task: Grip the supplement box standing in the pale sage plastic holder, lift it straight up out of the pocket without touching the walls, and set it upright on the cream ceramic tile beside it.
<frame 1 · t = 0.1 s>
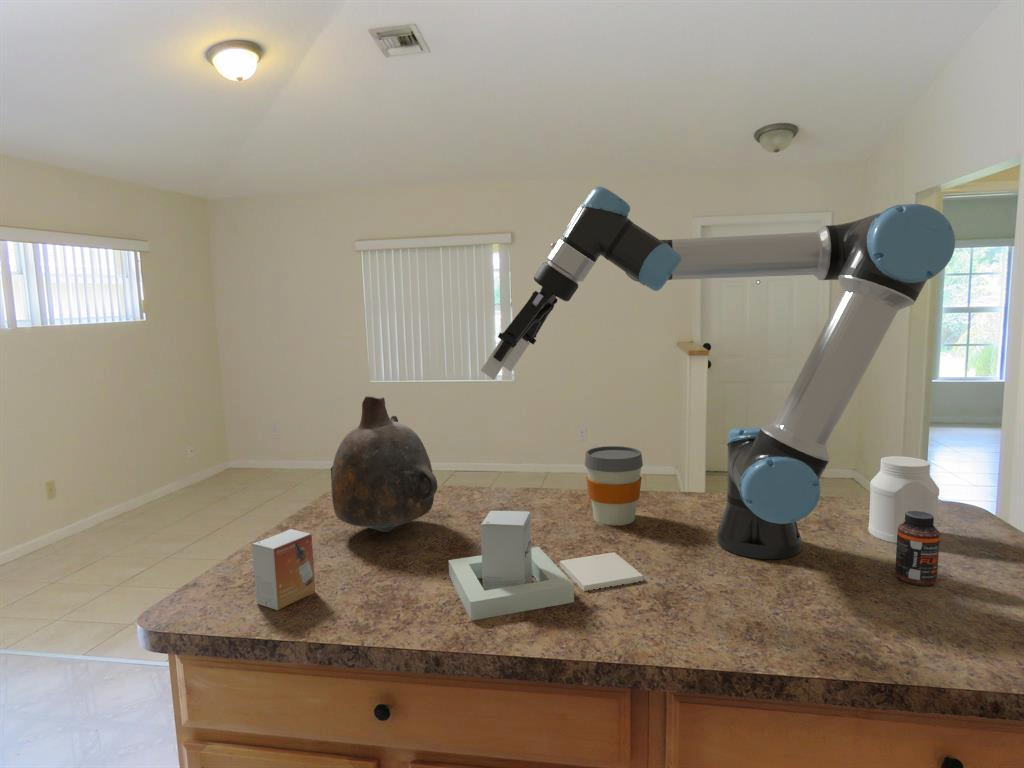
hand: (496, 371, 115), 36 cm above the counter, tool tilted 35°, fingers open, 13 cm apart
tile: (600, 573, 112), on the counter
jar: (901, 535, 125), on the counter
holder: (508, 588, 107), on the counter
reusable coffee cup: (614, 519, 140), on the counter
supplement bottle: (915, 580, 106), on the counter
jug: (385, 532, 137), on the counter
supplement box: (508, 589, 107), on the counter
small box: (286, 599, 107), on the counter
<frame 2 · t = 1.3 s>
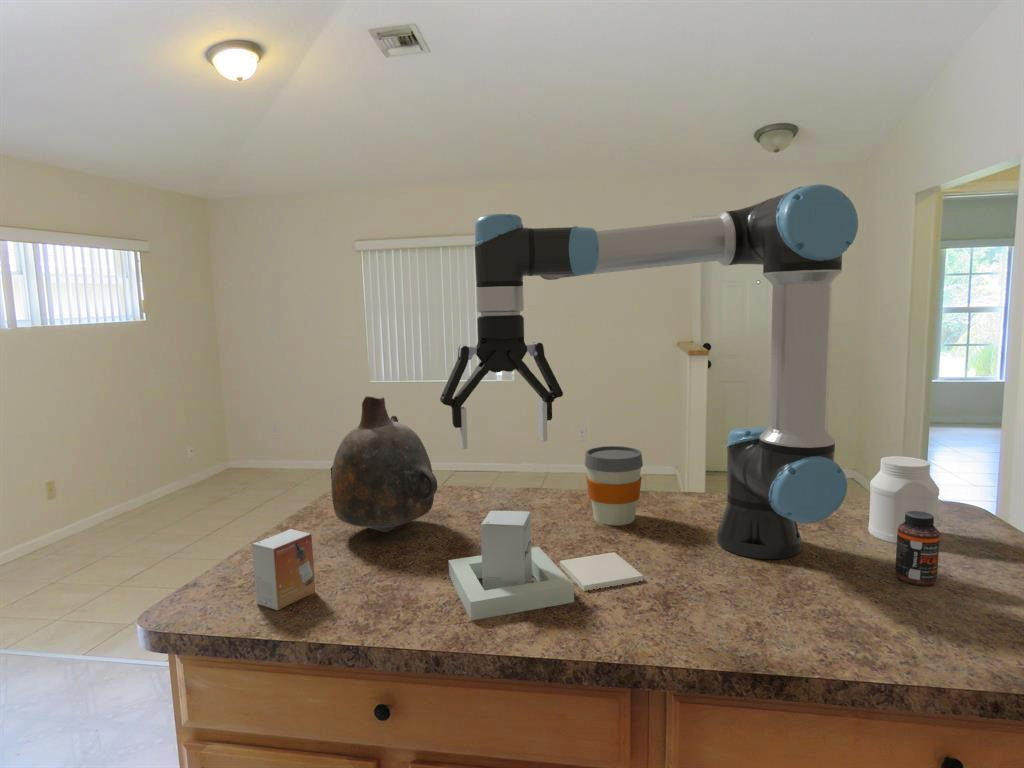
hand: (503, 443, 104), 25 cm above the counter, tool pointing down, fingers open, 13 cm apart
nothing on the counter moved.
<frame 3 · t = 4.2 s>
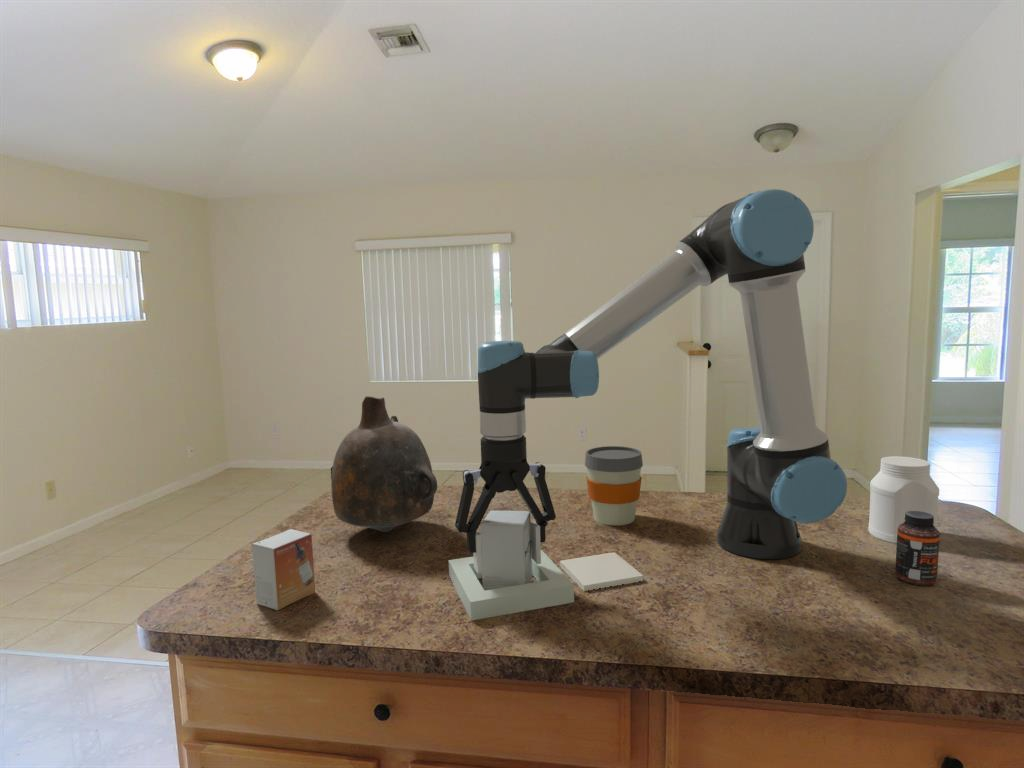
hand: (507, 565, 107), 4 cm above the counter, tool pointing down, fingers closed on supplement box, 10 cm apart
supplement box: (508, 589, 107), on the counter, touching gripper
everything else where it was.
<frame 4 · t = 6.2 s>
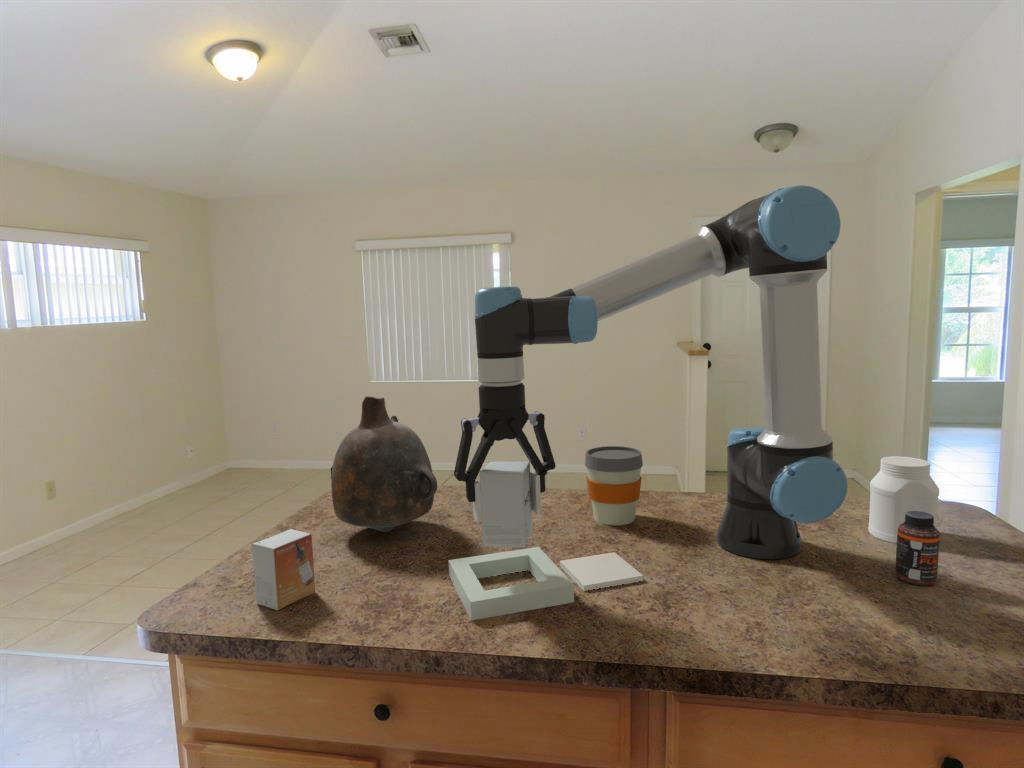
hand: (507, 515, 106), 13 cm above the counter, tool pointing down, fingers closed on supplement box, 10 cm apart
supplement box: (508, 540, 106), point 8 cm above the counter, touching gripper
everything else where it was.
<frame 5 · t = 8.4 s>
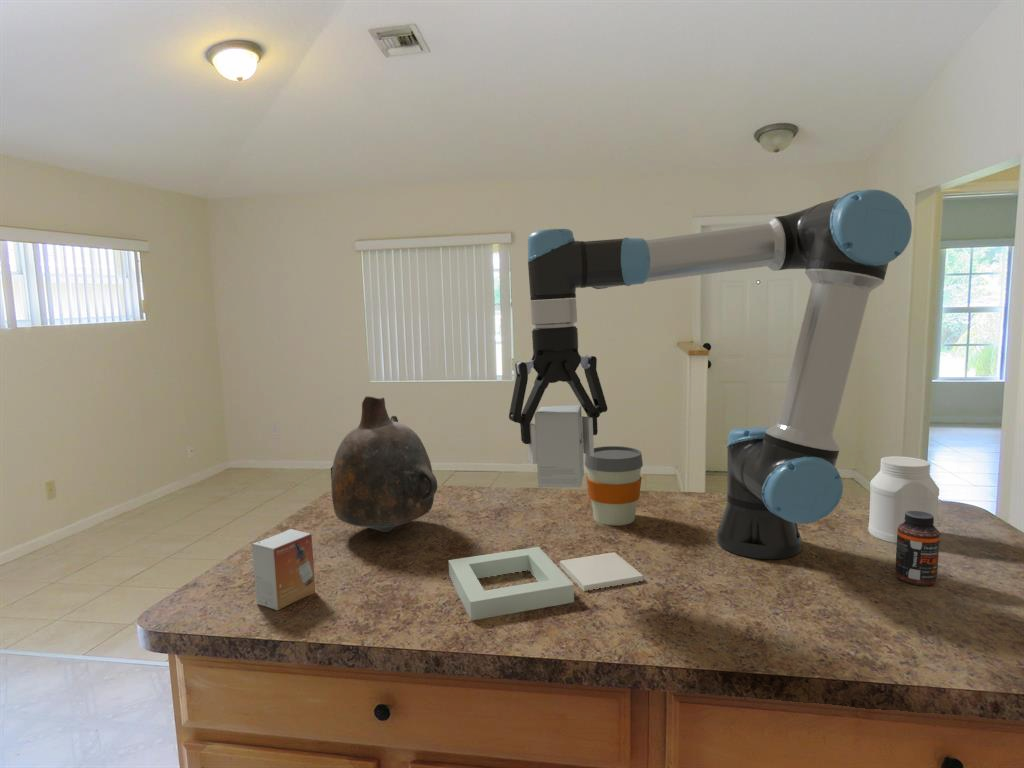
hand: (561, 458, 107), 22 cm above the counter, tool pointing down, fingers closed on supplement box, 10 cm apart
supplement box: (562, 482, 108), point 17 cm above the counter, touching gripper
everything else where it was.
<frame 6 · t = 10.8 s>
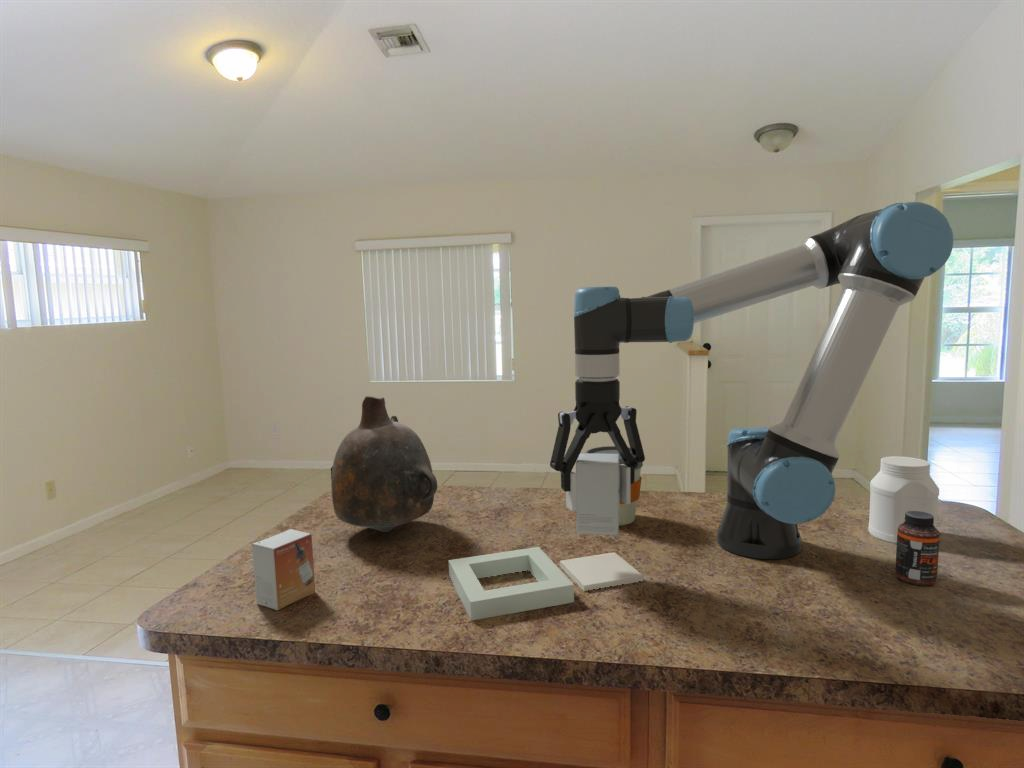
hand: (598, 505, 111), 12 cm above the counter, tool pointing down, fingers closed on supplement box, 10 cm apart
supplement box: (598, 528, 111), point 8 cm above the counter, touching gripper
everything else where it was.
when the fingers open (7 cm above the counter, at t = 12.9 s): supplement box drops 1 cm, resting on tile.
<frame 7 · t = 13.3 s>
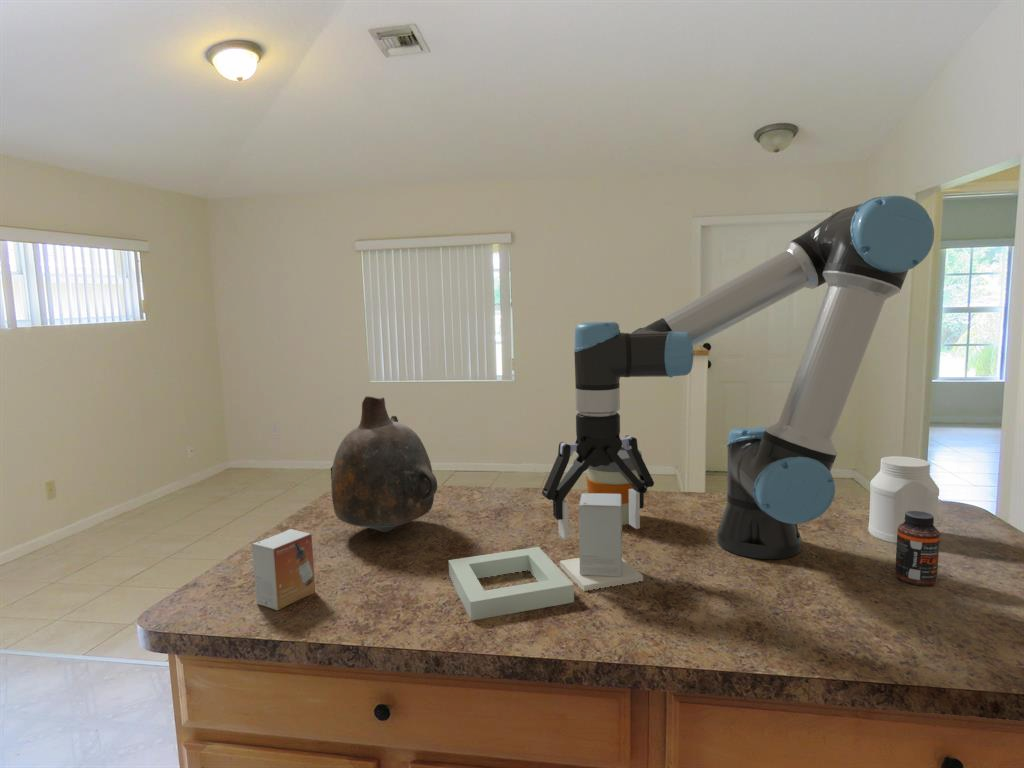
hand: (599, 531, 111), 8 cm above the counter, tool pointing down, fingers open, 13 cm apart
supplement box: (601, 568, 112), point 1 cm above the counter, touching tile
everything else where it was.
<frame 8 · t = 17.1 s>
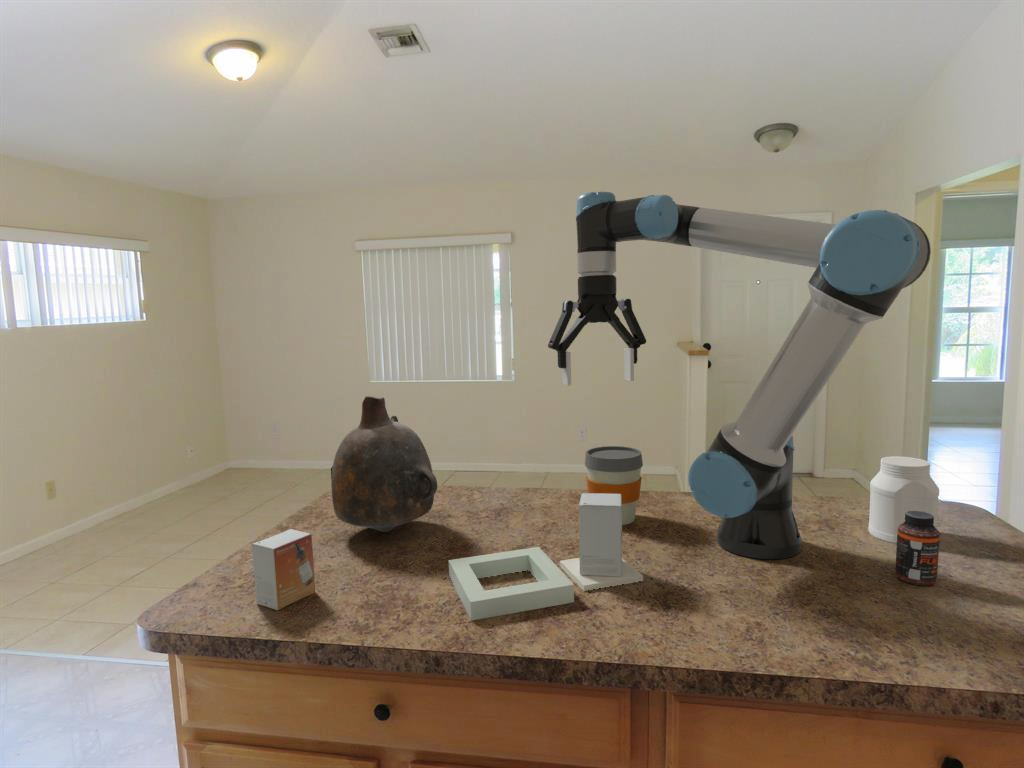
hand: (598, 382, 127), 32 cm above the counter, tool pointing down, fingers open, 13 cm apart
nothing on the counter moved.
at the end: supplement box inside the target area on the tile (0.3 cm from its centre), point 0.8 cm above the tile's base; supplement box tilted 0°; supplement box touching tile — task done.
